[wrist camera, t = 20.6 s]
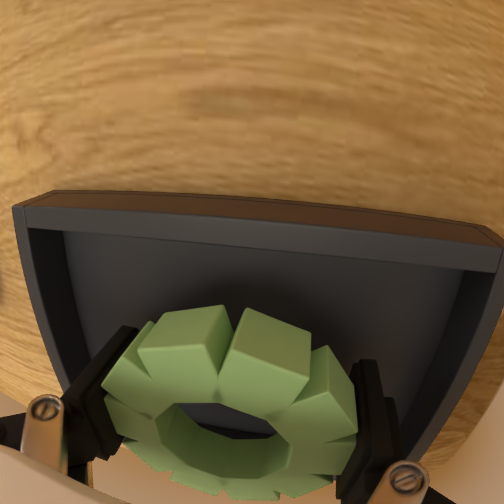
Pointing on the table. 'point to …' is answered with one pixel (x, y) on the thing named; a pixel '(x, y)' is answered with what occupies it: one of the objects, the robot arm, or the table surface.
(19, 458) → the robot arm
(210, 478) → the ring
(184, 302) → the tray
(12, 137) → the table surface
